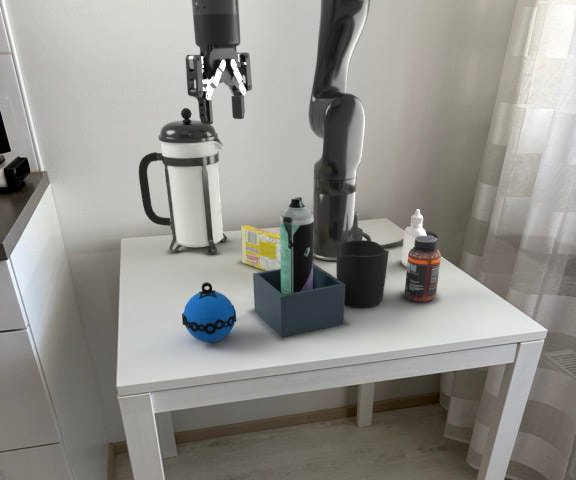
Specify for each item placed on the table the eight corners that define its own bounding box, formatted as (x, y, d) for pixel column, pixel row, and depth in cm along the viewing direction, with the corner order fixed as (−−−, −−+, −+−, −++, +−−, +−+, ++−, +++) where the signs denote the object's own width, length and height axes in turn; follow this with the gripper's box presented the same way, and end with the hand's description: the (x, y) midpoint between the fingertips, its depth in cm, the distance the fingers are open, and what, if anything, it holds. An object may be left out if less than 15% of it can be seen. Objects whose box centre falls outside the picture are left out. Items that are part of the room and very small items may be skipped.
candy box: (300, 278, 116) (300, 239, 112) (293, 281, 115) (292, 241, 110) (248, 260, 126) (246, 223, 121) (241, 262, 125) (239, 225, 120)
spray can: (309, 321, 97) (310, 202, 86) (278, 318, 98) (276, 201, 87) (314, 308, 101) (316, 194, 91) (285, 305, 102) (283, 193, 92)
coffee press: (212, 232, 144) (201, 102, 128) (240, 249, 132) (232, 108, 117) (147, 244, 137) (127, 107, 121) (171, 263, 125) (152, 114, 109)
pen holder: (390, 294, 108) (394, 243, 103) (376, 313, 101) (380, 259, 96) (344, 287, 112) (346, 237, 107) (327, 304, 104) (329, 252, 99)
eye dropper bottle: (402, 269, 120) (408, 213, 114) (400, 260, 125) (406, 206, 118) (423, 270, 120) (430, 213, 113) (420, 261, 124) (427, 206, 118)
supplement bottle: (437, 292, 109) (445, 235, 103) (433, 304, 104) (441, 245, 98) (406, 289, 111) (412, 232, 105) (401, 300, 106) (407, 241, 100)
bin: (312, 299, 107) (312, 262, 103) (343, 324, 97) (345, 284, 94) (254, 311, 102) (252, 273, 99) (281, 337, 93) (280, 297, 89)
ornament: (235, 326, 97) (231, 271, 92) (239, 349, 90) (235, 291, 84) (185, 330, 96) (178, 275, 91) (185, 354, 89) (178, 295, 83)
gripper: (203, 10, 84) (212, 127, 93) (260, 12, 94) (264, 118, 103) (167, 12, 88) (180, 124, 97) (226, 13, 98) (232, 115, 107)
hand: (223, 121), depth 100 cm, fingers open, 8 cm apart
